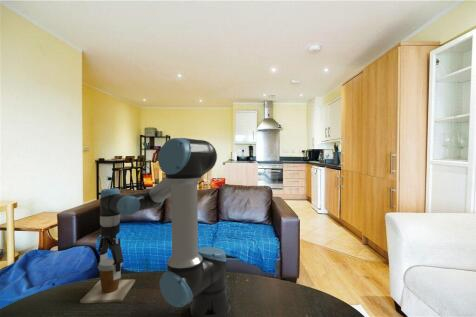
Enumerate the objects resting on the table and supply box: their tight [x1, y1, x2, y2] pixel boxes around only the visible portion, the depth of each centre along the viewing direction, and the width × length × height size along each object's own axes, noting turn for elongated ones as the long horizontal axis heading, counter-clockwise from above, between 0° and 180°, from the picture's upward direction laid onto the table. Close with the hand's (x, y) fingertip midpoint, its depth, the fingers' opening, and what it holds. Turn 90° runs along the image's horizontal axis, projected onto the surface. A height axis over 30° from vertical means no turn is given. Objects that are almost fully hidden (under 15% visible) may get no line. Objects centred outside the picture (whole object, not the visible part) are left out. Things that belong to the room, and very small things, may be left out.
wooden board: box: [79, 278, 136, 304], centre depth 105 cm, size 16×16×1 cm
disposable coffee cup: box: [97, 257, 124, 293], centre depth 105 cm, size 10×10×12 cm
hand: (110, 273), depth 105 cm, fingers open, 13 cm apart
